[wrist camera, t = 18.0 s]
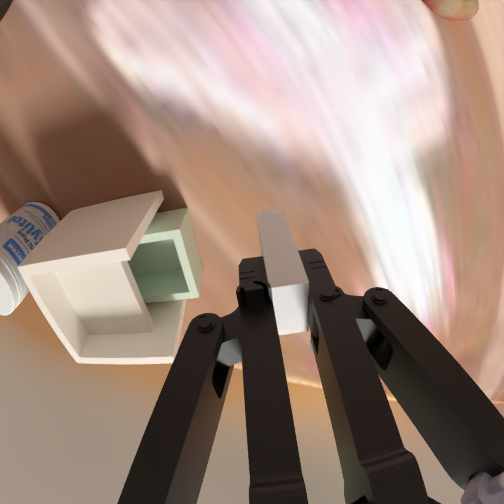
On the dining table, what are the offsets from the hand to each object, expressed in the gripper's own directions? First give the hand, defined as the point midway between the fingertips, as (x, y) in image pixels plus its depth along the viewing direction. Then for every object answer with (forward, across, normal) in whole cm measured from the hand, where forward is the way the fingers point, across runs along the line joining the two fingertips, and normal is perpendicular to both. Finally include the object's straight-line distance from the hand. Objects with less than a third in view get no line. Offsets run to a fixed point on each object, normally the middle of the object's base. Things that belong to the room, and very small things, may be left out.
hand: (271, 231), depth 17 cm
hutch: (+19, -18, -10) cm, 28 cm away
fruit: (+20, +26, +22) cm, 40 cm away
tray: (+19, -16, -11) cm, 27 cm away
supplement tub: (+20, -32, -5) cm, 38 cm away
